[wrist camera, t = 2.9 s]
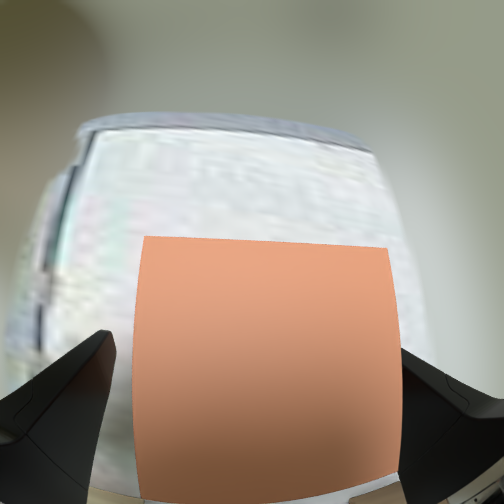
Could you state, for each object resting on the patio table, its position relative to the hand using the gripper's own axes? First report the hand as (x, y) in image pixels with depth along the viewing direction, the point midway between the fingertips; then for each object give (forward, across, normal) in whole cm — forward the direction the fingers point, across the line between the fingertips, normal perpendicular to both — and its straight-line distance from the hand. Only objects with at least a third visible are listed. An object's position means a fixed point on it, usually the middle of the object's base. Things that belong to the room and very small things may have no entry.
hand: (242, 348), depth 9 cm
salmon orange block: (+5, 0, +6) cm, 7 cm away
